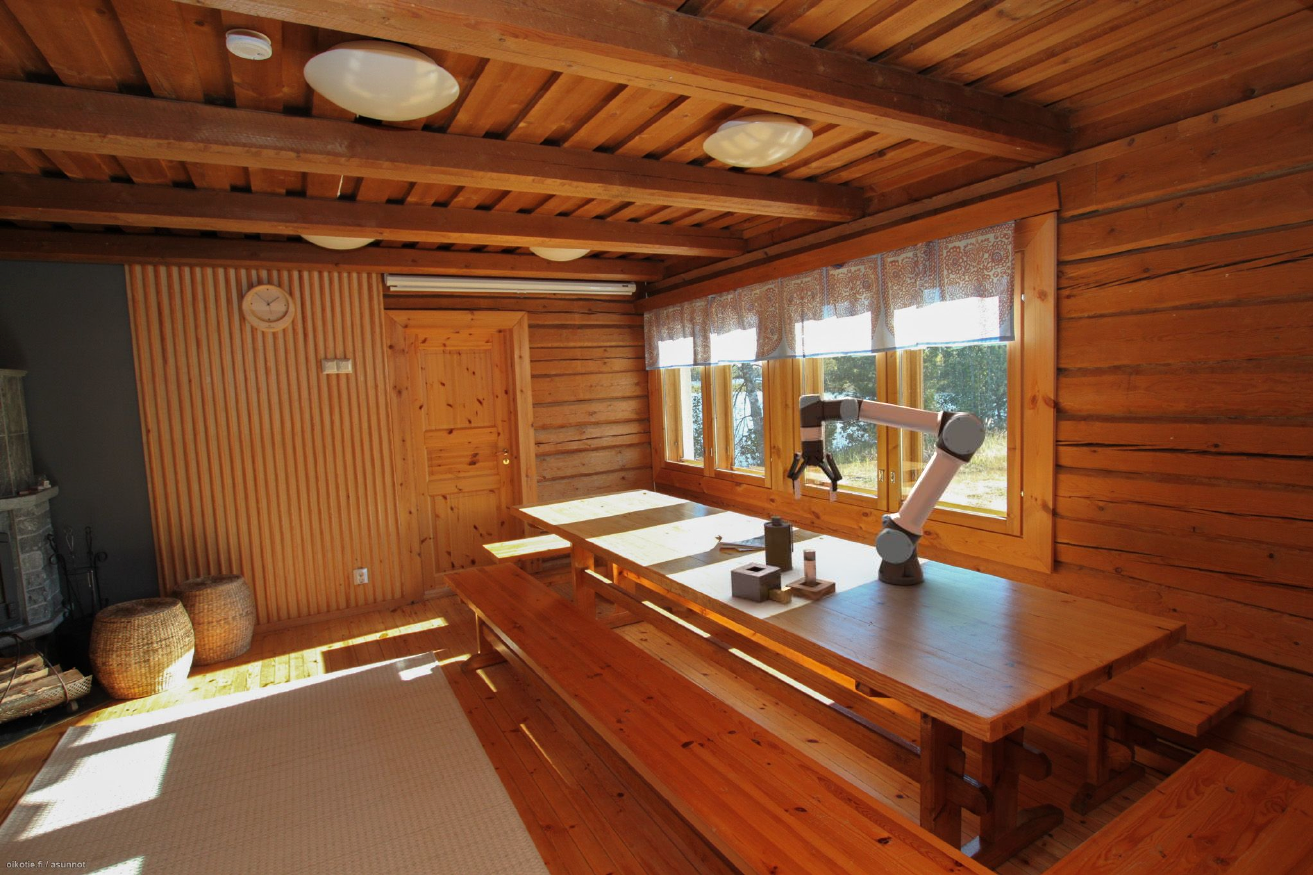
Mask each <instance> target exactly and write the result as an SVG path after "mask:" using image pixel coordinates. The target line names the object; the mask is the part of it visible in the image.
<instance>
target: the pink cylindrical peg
mask: <svg viewBox="0 0 1313 875" xmlns="http://www.w3.org/2000/svg"><path fill="white" fill-rule="evenodd" d="M802 553H803V574H804V575H803V577H804V582H805V586H807V587H812V588H814V587H816V586H817V582H816V579H817V556H816V550H815V549H811V548H807V549H803V552H802Z"/></svg>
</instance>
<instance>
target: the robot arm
mask: <svg viewBox="0 0 1313 875" xmlns="http://www.w3.org/2000/svg"><path fill="white" fill-rule="evenodd" d="M798 402H799V403H798V404H799V407H798V410H799V424H800V425H799V426H800V438H801V441H800V442H801V443H800V447H801V451H802V452H799V451H798V452H794V453H793V460H792V463H791V466H790V468H789V470H788V473H787V476H786V477H787V479H790V480H791V481H792V489H793V490H794V498H795V500H799V499H801V498H802V489H801V479H799V478H800V476H801V475H802V473H803V472H804V471H805V470H806V469H807V467H811V466H812V467H818V468H819V469H821V470H822V472H823V474H825V476H826V477H827V478H828V479H829V481H830V482H829V483H828V484H829V485H828V487H829V502H830V503H831V502H835V501H837V493H836V492H838V489H839V488H838V482H839V481H842V480H843V476H842V474H841V471H840V470H839V468H838V466H837V464H836V462H835V459H834V455H833V453H832V452H829V453H825V452H824V450H825V449H824V447H825V446H824V445H825V444H824V439H822V438H824V433H823V432H824V428H823V423H824V422H851V421H860V422H865V423H866V422H867V423H872V424H875V425H881V426H886V427H887V426H888V427H891V428H896V429H897V428H898V429H903V430H907V431H914V432H916V433H917V432H918V433H922V434H923V433H924V434H928V435H933V436H934V437H935V438H936V441H935V443H934V444H933V445H934V446H933V447H934V450H935V452H934V454H933V455H932V457H931V459H930V460H929V462H928V464H927V465H926V466H925V469H924V470H923V471H922V473H921V475H920V477H919V478H918V480H917V482H916V483H915V484H914V486H913V488H912V489H911V490H910V492H909V494H908V496H907V497H906V499H905V500H904V502H903V504H902V505H901V507H900V509H899V511H898V512H896V513H888V514H884V515H882V517H881V526H882V527H881V530H880V532H879V533H878V534H877V536H876V538H875V550H876V552H877V554H878V556H879V557H880V558H881V560H880V564H879V568H878V569H877V570H878V571H877V573H878V574H877V576H878V577H877V578H878V579H879V580H880V581H881V582H883V583H887V584H891V585H899V586H900V585H901V586H903V585H904V586H905V585H906V586H907V585H908V586H909V585H910V586H911V585H917V584H920V583H922V582H923V581H924V571H923V569H922V565H921V563H920V560H919V556H918V554H919V553H918V552H919V551H918V547H919V546H918V543H919V541H920V540H921V538H922V536H924V530H923V525H924V524H925V522H926V521H927V520H928V518H929V516H930V515H931V513H932V512H933V510H934V508H935V507H936V505H937V504H938V502H940V499H941V497H942V496H943V494H944V492H945V491H946V490H947V488H948V486H949V484H951V482H952V481H953V479H954V477H955V475H956V474H957V473H958V470H959V469H960V467H961V466H963V465H967V464H969V463H970V461H971V460H972V459H973V457H974V456H975V454H976V452H977V450H979V448H981V447H982V445H983V444H984V442H985V440H986V439H985V438H986V429H985V425H984V422H983V420H981V418H980V417H979V416H977V414H973V413H971V412H959V411H958V412H956V411H948V410H941V411H940V412H939V411H938V412H936V411H930V410H925V409H919V408H912V407H907V406H901V405H896V404H891V403H886V402H877V401H873V400H866V399H861V398H856V397H854V396H849V395H846V396H842V397H840V398H835V399H822V396H821V395H820V394H818V393H816V394H803V395H801V396H800V397H799V400H798ZM801 459H802V462H801V463H800V461H801ZM824 459H825V460H826V461H825V460H824ZM826 462H827V463H826ZM799 463H800V466H799ZM827 464H828V466H827ZM798 466H799V467H798Z"/></svg>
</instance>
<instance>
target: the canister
mask: <svg viewBox="0 0 1313 875" xmlns="http://www.w3.org/2000/svg"><path fill="white" fill-rule="evenodd" d="M769 519H770V520H771V521H766V522H763V530H764V531H763V532H764V556H765V565H768V566H773V567H778V568H781V573H785V572H790V571H791V570H793V556H792V554H793V553H794V532H793V531H794V530H793V523H791V522H789V521H785V520H783V517H782V516H775V515H773V516H771V517H769Z"/></svg>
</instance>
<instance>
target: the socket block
mask: <svg viewBox="0 0 1313 875" xmlns="http://www.w3.org/2000/svg"><path fill="white" fill-rule="evenodd" d="M730 581H731V582H730V584H731V586H730V587H731V597H733V598H738V599H742V600H744V601H745V600H746V601H749V602H753V603H758V604H761V603H762V604H763V603H764V602H767V601H768V600H769V599H768V589H770V588H773V589H777V590H781V589H782V572H781V568H778V567H773V566H768V565H766V564H761V563H758V562H750V563H748V564H744V565H742V566H739V567H737V568H734V569H732V570H730Z"/></svg>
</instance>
